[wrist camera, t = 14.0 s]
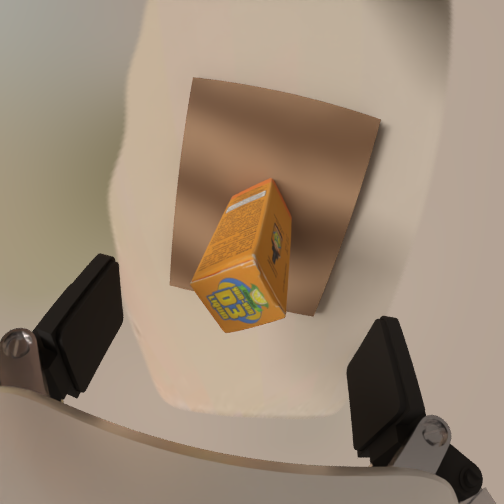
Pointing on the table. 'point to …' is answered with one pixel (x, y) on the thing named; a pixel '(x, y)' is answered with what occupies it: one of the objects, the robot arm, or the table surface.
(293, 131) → the walnut board
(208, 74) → the table surface
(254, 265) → the supplement box
